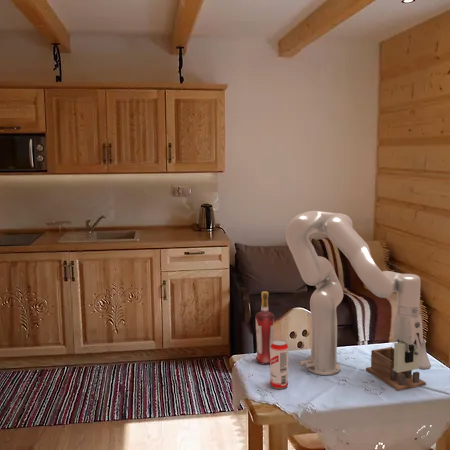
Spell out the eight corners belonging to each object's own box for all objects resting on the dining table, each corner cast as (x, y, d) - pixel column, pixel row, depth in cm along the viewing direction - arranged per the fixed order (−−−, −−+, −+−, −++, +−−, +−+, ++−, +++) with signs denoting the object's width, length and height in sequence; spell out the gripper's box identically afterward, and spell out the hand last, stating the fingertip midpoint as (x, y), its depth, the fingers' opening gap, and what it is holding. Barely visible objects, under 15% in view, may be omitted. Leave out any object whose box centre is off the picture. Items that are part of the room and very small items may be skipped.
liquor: (254, 358, 203) (254, 290, 199) (272, 357, 203) (272, 289, 200) (256, 365, 196) (256, 295, 192) (275, 365, 196) (275, 294, 192)
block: (399, 373, 175) (399, 345, 174) (393, 370, 178) (394, 343, 177) (420, 369, 178) (421, 342, 177) (414, 366, 181) (415, 339, 180)
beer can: (276, 391, 175) (276, 346, 172) (266, 384, 180) (266, 340, 178) (291, 387, 177) (292, 343, 175) (281, 380, 183) (281, 337, 181)
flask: (432, 370, 190) (433, 344, 189) (412, 369, 192) (413, 343, 190) (429, 362, 197) (430, 337, 196) (409, 361, 199) (410, 336, 197)
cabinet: (397, 390, 174) (398, 368, 173) (365, 370, 191) (366, 349, 190) (425, 385, 178) (426, 363, 177) (392, 365, 195) (393, 345, 194)
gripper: (433, 315, 170) (431, 367, 172) (401, 302, 184) (400, 351, 187) (414, 317, 167) (413, 371, 169) (384, 305, 182) (383, 354, 184)
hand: (406, 360), depth 178 cm, fingers closed on block, 2 cm apart
